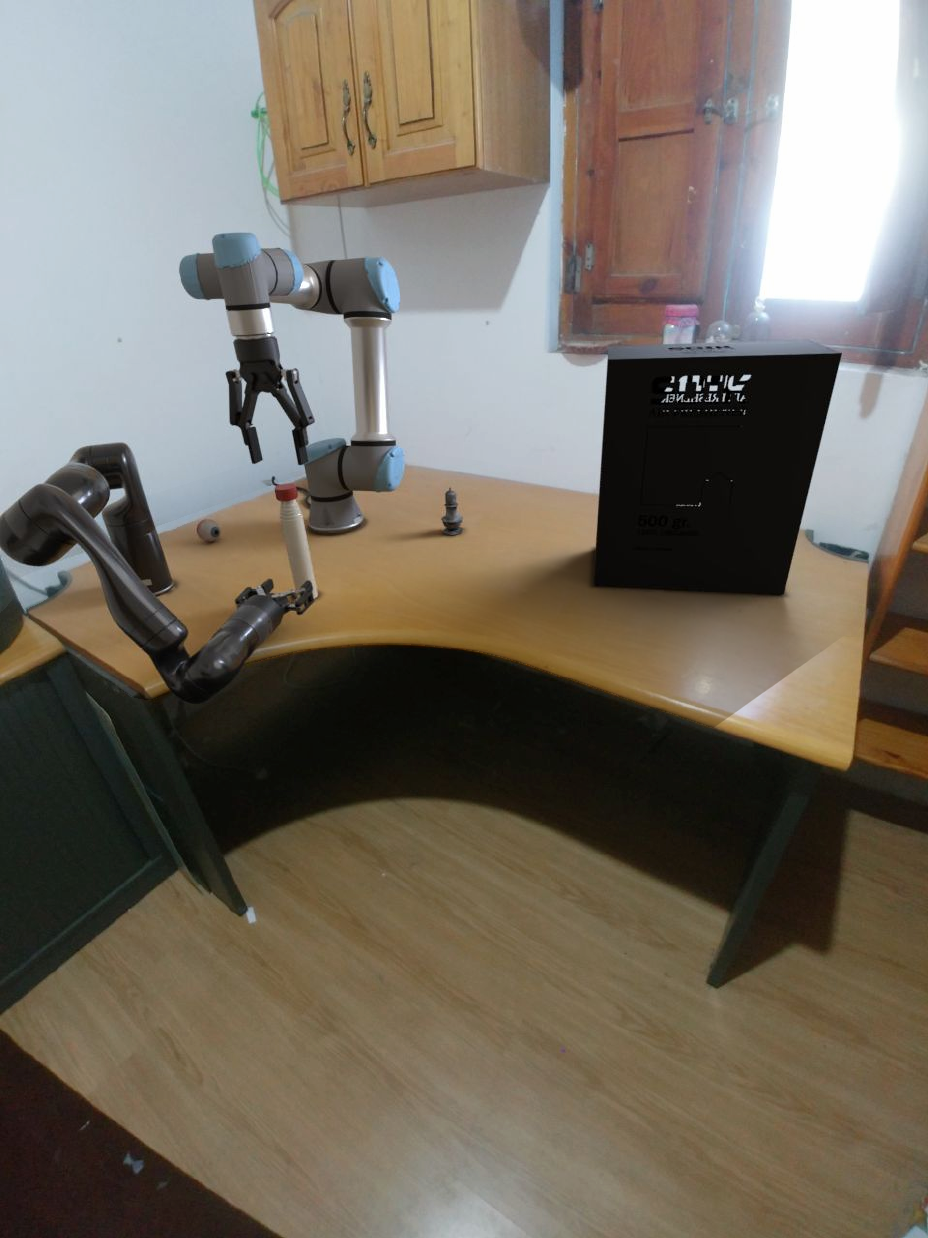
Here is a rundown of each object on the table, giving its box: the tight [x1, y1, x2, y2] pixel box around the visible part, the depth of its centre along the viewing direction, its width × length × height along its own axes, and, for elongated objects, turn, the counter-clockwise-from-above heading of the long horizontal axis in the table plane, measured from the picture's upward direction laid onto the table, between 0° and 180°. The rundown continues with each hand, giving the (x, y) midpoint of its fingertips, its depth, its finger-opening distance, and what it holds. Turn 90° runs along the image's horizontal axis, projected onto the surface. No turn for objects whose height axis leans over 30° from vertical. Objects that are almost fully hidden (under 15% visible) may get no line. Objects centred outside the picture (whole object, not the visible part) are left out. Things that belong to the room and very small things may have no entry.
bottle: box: [279, 499, 319, 600], centre depth 126 cm, size 4×4×24 cm
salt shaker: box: [440, 487, 464, 536], centre depth 158 cm, size 6×6×12 cm
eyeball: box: [196, 518, 222, 543], centre depth 162 cm, size 6×6×6 cm
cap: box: [274, 482, 299, 502], centre depth 121 cm, size 4×4×2 cm
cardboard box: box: [593, 339, 843, 595], centre depth 123 cm, size 38×20×45 cm, turn 78°
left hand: (290, 583), depth 124 cm, fingers open, 8 cm apart
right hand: (280, 462), depth 118 cm, fingers open, 9 cm apart
